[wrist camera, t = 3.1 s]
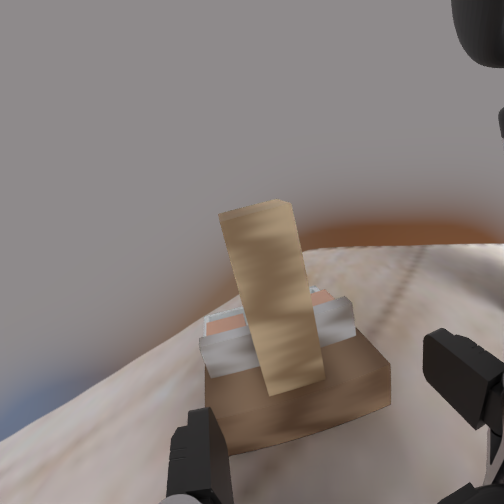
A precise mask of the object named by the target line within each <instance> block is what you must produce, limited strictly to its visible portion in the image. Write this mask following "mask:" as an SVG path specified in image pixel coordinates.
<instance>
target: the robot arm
mask: <svg viewBox="0 0 504 504" xmlns="http://www.w3.org/2000/svg"><path fill="white" fill-rule="evenodd" d="M451 3H452V4H451V5H452V14H453V20H454V25H455V29H456V32H457V36H458V38H459V41H460V43H461V45H462V47H463V48H464V50H465V51H466V53H467V54H468V55H469V56H470V57H471V59H473V60H474V61H475V62H477V63H478V64H480V65H483V66H487V67H492V68H504V0H451ZM498 119H499V125H500V130H501V136H502V138H503V139H502V142H503V147H504V108H502V109H501V110H500V112H499V115H498ZM423 373H424V376H425V378H426V380H427V382H428V383H429V384H430V385H431V386H432V387H433V388H434V389H435V390H436V391H437V392H438V393H439V394H440V395H441V396H442V397H443V398H444V399H445V400H446V401H447V402H448V403H449V404H450V405H451V406H452V407H453V408H454V409H455V410H456V411H457V412H458V413H459V414H460V415H461V416H462V417H463V418H464V419H465V420H466V421H467V422H468V423H469V424H470V425H471V426H472V427H473V428H474V429H475V430H477V429H479V428H480V427H482V426H483V425H485V424H487V425H488V426H489V428H488V431H487V463H486V474H485V479H484V482H483V486H480V487H477V488H474V487H473V485H472V484H471V483H470V482H469V483H468V484H466V485H465V486H463V487H462V488H460V489H459V490H457V491H455V492H454V493H452V494H450V495H449V496H447V497H445V498H444V499H442V500H441V501H440V502H439V503H437V504H504V363H503V362H502V361H500V360H499V359H498V358H496V357H495V356H493V355H492V354H490V353H489V352H488V351H486V350H485V351H484V349H483V348H482V347H480V346H479V345H478V346H477V344H476V343H475V342H473V341H472V340H470V339H469V338H467V337H463V336H460V335H453V334H451V333H450V332H449V331H447V330H446V329H444V328H440V329H438V330H436V331H434V332H432V333H430V334H427V335H426V336H425V337H424V340H423ZM170 451H171V452H170V456H169V460H170V461H169V468H168V480H167V493H166V498H165V499H164V500H162V501H161V502H160V503H159V504H234V501H233V492H232V484H231V475H230V466H229V456H228V448H227V444H226V441H225V438H224V435H223V433H222V431H221V429H220V426H219V424H218V422H217V420H216V418H215V415H214V413H213V411H212V409H211V407H206V408H201V409H196V410H191V411H189V412H188V426H183V427H178V428H177V430H176V431H175V433H174V435H173V436H172V438H171V446H170Z"/></svg>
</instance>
